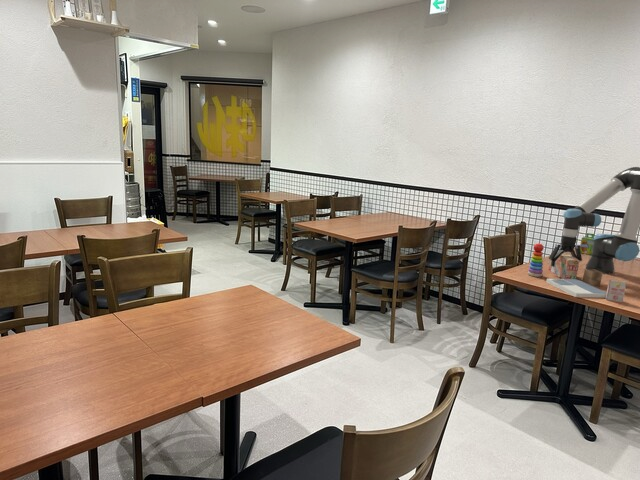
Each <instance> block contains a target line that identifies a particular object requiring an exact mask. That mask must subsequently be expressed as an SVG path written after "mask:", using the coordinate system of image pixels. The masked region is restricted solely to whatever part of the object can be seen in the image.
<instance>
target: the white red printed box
mask: <svg viewBox="0 0 640 480" xmlns="http://www.w3.org/2000/svg"><path fill="white" fill-rule="evenodd" d="M626 285H627V282H625V281H619V280H614V279H609V281H608V285H607V289H606V298H605V301H608V302H609V301H610V302H613V303H621V304H623V302H624V298H625V292H626Z"/></svg>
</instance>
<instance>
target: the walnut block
mask: <svg viewBox="0 0 640 480" xmlns="http://www.w3.org/2000/svg"><path fill="white" fill-rule="evenodd" d="M603 274H604V273H603V272H600V271H598V270H595V269H586V268H584V272H583V276H582V280H581V281H582V282H584V283H586V284H589V285H591V286H593V287H595V288H598V287H601V283H602V277H603Z"/></svg>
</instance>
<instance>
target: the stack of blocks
mask: <svg viewBox="0 0 640 480" xmlns="http://www.w3.org/2000/svg"><path fill="white" fill-rule="evenodd" d="M556 261H557V264H556V270H555V273H554V272H552V271H551V268H552V266H551V262H552V260H550V259H549V266H548V271H550V272H551V273H553V274H554V275H556V276H557V277H559V279H577V275H578V270H579V267H580V266H579V265H580V262H581V261H580V260H578V259H576V258H574V257H572V255H570V254H562V255H561V256H560V257H559V258H558V259H557V260H556Z"/></svg>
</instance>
